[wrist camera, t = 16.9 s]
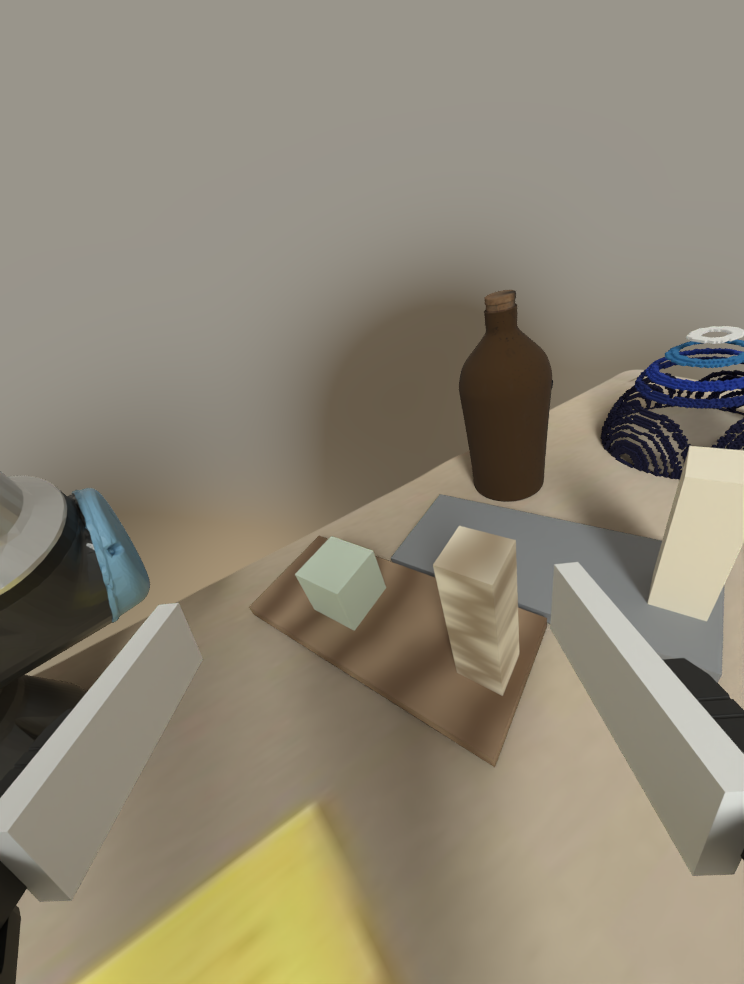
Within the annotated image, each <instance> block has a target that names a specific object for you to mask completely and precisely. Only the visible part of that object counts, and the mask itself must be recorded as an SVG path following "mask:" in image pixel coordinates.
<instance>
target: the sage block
mask: <svg viewBox="0 0 744 984" xmlns="http://www.w3.org/2000/svg"><path fill="white" fill-rule="evenodd" d="M295 576H296V577H297V579H298V581H299V583H300V585H301V586H302V588H303V590H304V592H305V594H306V595H307V597H308V599H309V601H310V603H311V604H312V606H313V608H314V609H315V610H316V611H318V612H320V613H322V614H324V615H326V616H328V617H330V618H331V619H333V620H335V621H337V622H339V623H341V624H343V625H344V626H346V627H348V628H350V629H352V630H354V631H355V630H356V628H357V627H358V626H359V624H360V623H361V621H362V620H363V619H364V617H365V616H366V615H367V613H368V612H369V611H370V609H371V608H372V606H373V605H374V604H375V602H376V601H377V600H378V598H379V597H380V596H381V594H382V593H383V592H384V590H385V589H386V586H385V583H384V580H383V577H382V574H381V571H380V569H379V566H378V563H377V560H376V557H375V554H374V551H372V550H369V549H367V548H364V547H361V546H358V545H355V544H352V543H350V542H347V541H344V540H341V539H338V538H335V537H333V536H331V537H330V538H329V539H328V540H327V541H326V542H325V543H324V544H323V545H322V546H321V547H320V548H319V550H318V551H317V552H316V553H315V554H314V555H313V556H312V557H311V558H310V559H309V560H308V561H307V562H306V563H305V564H304V565H303V566H302V567H301V568H300V569H299V571H298V572H297V573H296V574H295Z"/></svg>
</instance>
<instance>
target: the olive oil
mask: <svg viewBox="0 0 744 984" xmlns="http://www.w3.org/2000/svg"><path fill="white" fill-rule="evenodd" d="M515 298H516V292H515V291H514V290H503V291H498V292H495V293H492V294H489V295H487V296H486V297H485V305H486V310H485V311H484V313H485V325H486V333H485V335H484V337H483V338H482V340H481V341H480V342H479V344H478V345H477V346H476V348H475V349H474V350H473V352H472V353H471V354H470V356H469V357H468V359H467V360H466V362H465V363H464V365H463V368H462V371H461V375H460V382H459V392H460V398H461V404H462V409H463V415H464V420H465V426H466V432H467V437H468V444H469V450H470V456H471V463H472V470H473V477H474V483H475V487H476V489H477V490H478V492H479V493H481V494H482V495H483V496H485V497H487V498H490V499H493V500H498V501H517V500H522V499H525V498H528V497H530V496H532V495H534V494H535V493H536V492H538V491H539V490H540V488H541V487H542V485H543V481H544V467H545V454H546V442H547V430H548V419H549V408H550V398H551V389H552V385H553V380H552V370H551V366H550V363H549V360H548V357H547V355H546V354H545V352H544V351H543V350H542V349H541V348H540V347H539V346H538V345H537V344H536V343H535V342H533V341H532V340H531V339H530V338H529V337H527V336H526V335H525V334H524V333H523V332H522V331H521V330H520V329H519V328H518V326H517V304H515Z"/></svg>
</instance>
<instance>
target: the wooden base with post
mask: <svg viewBox="0 0 744 984" xmlns="http://www.w3.org/2000/svg"><path fill="white" fill-rule="evenodd" d="M327 540H328V539H327V538H324V537H321V536H318V537H317V538H316V539H315V540H314V541H313V542H312V543H311V544H310V545H309V546H308V547H307V548H306V550H305V551H304V552H303V553H302V554H301V555H300V556H299V557H298V558H297V559H296V560H295V561H294V562H293V563H292V564H291V565H290V566H289V567H288V568H287V569H286V570H285V571H284V572H283V573H282V574H281V575H280V576H279V577H278V578H277V579H276V580H275V581H274V582H273V583H272V584H271V585H270V586H269V587H268V588H267V589H266V590H265V591H264V592H263V593H262V594H261V595H260V596H259V597H258V598H257V599H256V600H255V601H254V602H253V603H252V604H251V606H250V607H249V608H250V609H251V611H252V612H253V614H254V615H256V616H257V617H259V618H260V619H262V620H263V621H265V622H267V623H268V624H270V625H271V626H273V627H275V628H276V629H278V630H279V631H281V632H282V633H284V634H286V635H287V636H289V637H290V638H292V639H293V640H295V641H297V642H298V643H300V644H301V645H303V646H304V647H306V648H308V649H309V650H311V651H312V652H314V653H316V654H317V655H319V656H320V657H322V658H323V659H325V660H327V661H328V662H330V663H331V664H333V665H334V666H336V667H338V668H339V669H341V670H342V671H344V672H345V673H347V674H349V675H350V676H352V677H353V678H355V679H357V680H358V681H360V682H361V683H363V684H364V685H366V686H368V687H369V688H371V689H372V690H374V691H375V692H377V693H379V694H380V695H382V696H383V697H385V698H386V699H388V700H390V701H391V702H393V703H394V704H396V705H398V706H399V707H401V708H402V709H404V710H405V711H407V712H409V713H410V714H412V715H413V716H415V717H416V718H418V719H420V720H421V721H423V722H424V723H426V724H427V725H429V726H431V727H432V728H434V729H435V730H437V731H438V732H440V733H442V734H443V735H445V736H446V737H448V738H450V739H451V740H453V741H454V742H456V743H457V744H459V745H461V746H462V747H464V748H465V749H467V750H468V751H470V752H472V753H473V754H475V755H476V756H478V757H479V758H481V759H483V760H484V761H486V762H487V763H489V764H491V765H492V766H494V767H495V766H496V763H497V760H498V757H499V755H500V752H501V749H502V747H503V744H504V741H505V739H506V736H507V733H508V730H509V728H510V725H511V722H512V720H513V717H514V714H515V712H516V709H517V706H518V703H519V701H520V698H521V695H522V693H523V690H524V687H525V684H526V682H527V679H528V676H529V674H530V671H531V668H532V666H533V663H534V660H535V657H536V655H537V652H538V649H539V647H540V644H541V641H542V639H543V636H544V633H545V630H546V628H547V618H546V617H543V616H540V615H537V614H535V613H532V612H529V611H526V610H523V609H521V608H518V593H517V562H516V540H513V539H509V538H505V537H501V536H497V535H494V534H490V533H486V532H482V531H478V530H474V529H470V528H466V527H462V526H459V527H458V528H457V530H456V531H455V533H454V534H453V536H452V537H451V539H450V540H449V542H448V543H447V545H446V546H445V548H444V549H443V551H442V552H441V554H440V555H439V557H438V558H437V560H436V561H435V562H434V564H433V568H434V573H435V577H436V578H435V577H432V576H429V575H427V574H424V573H421V572H418V571H415V570H413V569H410V568H407V567H404V566H402V565H399V564H396V563H393V562H391V561H388V560H385V559H382V558H379V557H377V556H375V557H376V560H377V563H378V566H379V569H380V571H381V574H382V577H383V580H384V583H385V586H386V589H385V590H384V592H383V593H382V594H381V596H380V597H379V598H378V600H377V601H376V602H375V604H374V605H373V606H372V608H371V609H370V611H369V612H368V613H367V615H366V616H365V617H364V619H363V620H362V621H361V623H360V624H359V626H358V627H357V628H356V630H355V631H354V630H352V629H350V628H348V627H346V626H344V625H343V624H341V623H339V622H337V621H335V620H333V619H331V618H330V617H328V616H326V615H324V614H322V613H320V612H318V611H316V610H315V609H314V608H313V606H312V604H311V603H310V601H309V599H308V597H307V595H306V594H305V592H304V590H303V588H302V586H301V585H300V583H299V581H298V579H297V577H296V576H295V574H296V573H297V572H298V571H299V569H300V568H301V567H302V566H303V565H304V564H305V563H306V562H307V561H308V560H309V559H310V558H311V557H312V556H313V555H314V554H315V553H316V552H317V551H318V550H319V548H320V547H321V546H322V545H323V544H324V543H325V542H326V541H327Z"/></svg>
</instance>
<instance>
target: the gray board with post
mask: <svg viewBox="0 0 744 984" xmlns="http://www.w3.org/2000/svg"><path fill="white" fill-rule="evenodd" d="M459 526H462V527H466V528H470V529H474V530H478V531H482V532H486V533H490V534H494V535H497V536H501V537H505V538H509V539H513V540H516V562H517V593H518V608H521V609H523V610H526V611H529V612H532V613H535V614H537V615H540V616H543V617H546V618H547V623H549V624H551V608H552V592H553V576H554V564H563V563H572V562H578V563H579V564H580V565H581V566H582V567H583V568H584V569H585V571H586V572H587V573H588V574H589V575H590V576H591V578H592V579H593V580H594V581H595V582H596V583H597V585H598V586H599V587H600V588H601V589H602V590H603V592H604V593H605V594H606V595H607V596H608V597H609V598H610V600H611V601H612V602H613V603H614V604H615V605H616V607H617V608H618V609H619V610H620V611H621V612H622V614H623V615H624V616H625V617H626V618H627V619H628V621H629V622H630V623H631V624H632V625H633V626H634V627H635V629H636V630H637V631H638V632H639V633H640V634H641V636H642V637H643V638H644V639H645V640H646V641H647V643H648V644H649V645H650V646H651V647H652V648H653V650H654V651H655V652H656V653H657V654H658V655H659V656H660V658H661V659H675V658H685V659H687V660H688V661H690V662H691V663H693V664H694V665H696V666H697V667H699V668H700V669H702V670H703V671H705V672H706V673H708V674H709V675H710V676H711V677H712V678H713V679H714V680H715V681H716V682H718V681H719V679H720V677H721V675H722V650H723V616H724V584H725V582H726V579H727V577H728V575H729V573H730V571H731V569H732V567H733V564H734V562H735V560H736V558H737V556H738V554H739V552H740V549H741V547H742V545H743V543H744V450H732V449H720V448H708V447H697V446H689V450H688V453H687V457H686V460H685V463H684V467H683V470H682V474H681V477H680V481H679V484H678V488H677V491H676V495H675V498H674V502H673V505H672V509H671V512H670V516H669V519H668V523H667V526H666V530H665V533H664V537H663V540H662V541H661V540H656V539H651V538H647V537H642V536H637V535H632V534H627V533H623V532H618V531H613V530H608V529H604V528H599V527H594V526H589V525H584V524H580V523H575V522H570V521H565V520H561V519H556V518H551V517H546V516H541V515H537V514H532V513H527V512H522V511H518V510H513V509H508V508H503V507H498V506H494V505H489V504H484V503H479V502H475V501H470V500H465V499H460V498H455V497H451V496H446V495H441V494H440V495H439V496H438V498H437V499H436V500H435V501H434V503H433V504H432V505H431V507H430V508H429V509H428V510H427V512H426V513H425V514H424V516H423V517H422V518H421V520H420V521H419V522H418V523H417V525H416V526H415V527H414V529H413V530H412V531H411V532H410V534H409V535H408V536H407V538H406V539H405V540H404V541H403V543H402V544H401V545H400V547H399V548H398V549H397V551H396V552H395V553H394V554H393V556H392V557H391V560H392V562H393V563H396V564H399V565H402V566H404V567H407V568H410V569H413V570H415V571H418V572H421V573H424V574H427V575H429V576H432V577H435V573H434V568H433V564H434V562H435V561H436V560H437V558H438V557H439V555H440V554H441V552H442V551H443V549H444V548H445V546H446V545H447V543H448V542H449V540H450V539H451V537H452V536H453V534H454V533H455V531H456V530H457V528H458V527H459ZM435 578H436V577H435Z"/></svg>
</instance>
